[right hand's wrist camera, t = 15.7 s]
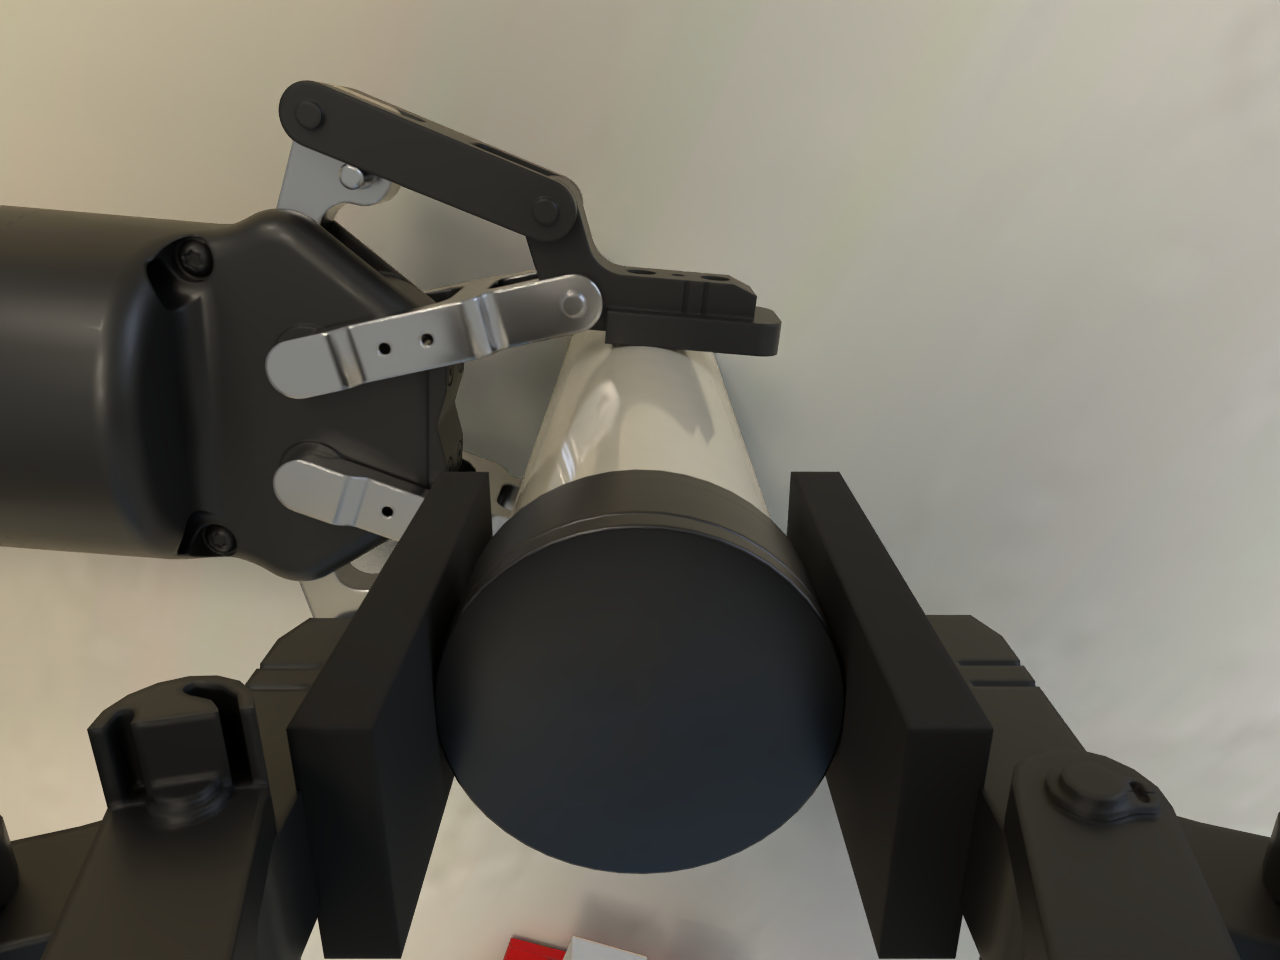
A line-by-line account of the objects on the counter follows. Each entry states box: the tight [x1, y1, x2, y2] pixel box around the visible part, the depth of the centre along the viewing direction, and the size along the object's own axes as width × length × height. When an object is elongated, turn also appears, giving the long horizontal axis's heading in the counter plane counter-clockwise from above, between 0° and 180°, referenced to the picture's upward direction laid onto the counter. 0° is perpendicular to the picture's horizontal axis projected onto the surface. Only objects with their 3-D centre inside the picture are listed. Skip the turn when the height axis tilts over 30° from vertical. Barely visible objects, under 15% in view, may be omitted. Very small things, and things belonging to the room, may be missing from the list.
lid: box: [434, 469, 846, 874], centre depth 11 cm, size 5×5×2 cm
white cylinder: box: [509, 330, 771, 519], centre depth 19 cm, size 4×4×16 cm
